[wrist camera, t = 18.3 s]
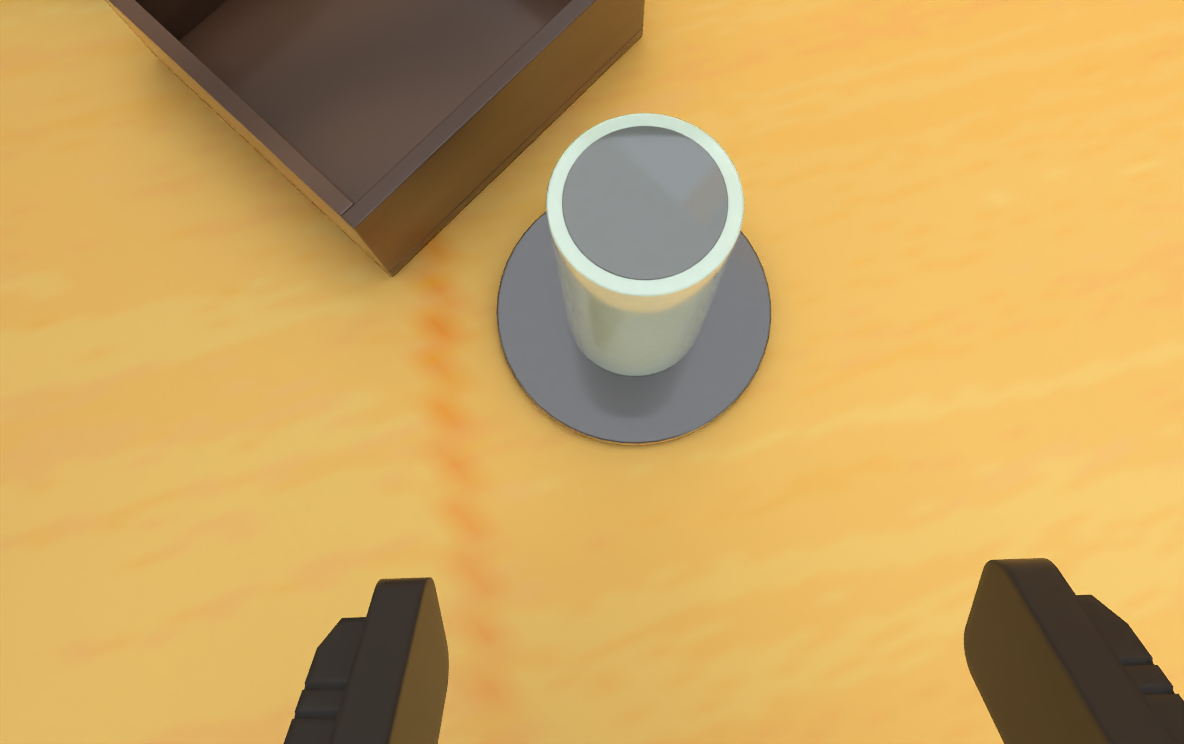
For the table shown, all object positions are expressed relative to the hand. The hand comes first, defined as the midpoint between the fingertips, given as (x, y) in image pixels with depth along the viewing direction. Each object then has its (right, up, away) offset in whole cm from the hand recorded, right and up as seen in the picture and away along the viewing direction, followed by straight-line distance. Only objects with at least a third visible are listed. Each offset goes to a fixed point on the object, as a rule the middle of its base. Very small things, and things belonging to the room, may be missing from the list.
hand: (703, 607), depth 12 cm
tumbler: (0, +6, +20) cm, 21 cm away
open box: (-10, +18, +24) cm, 31 cm away
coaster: (0, +6, +21) cm, 21 cm away
